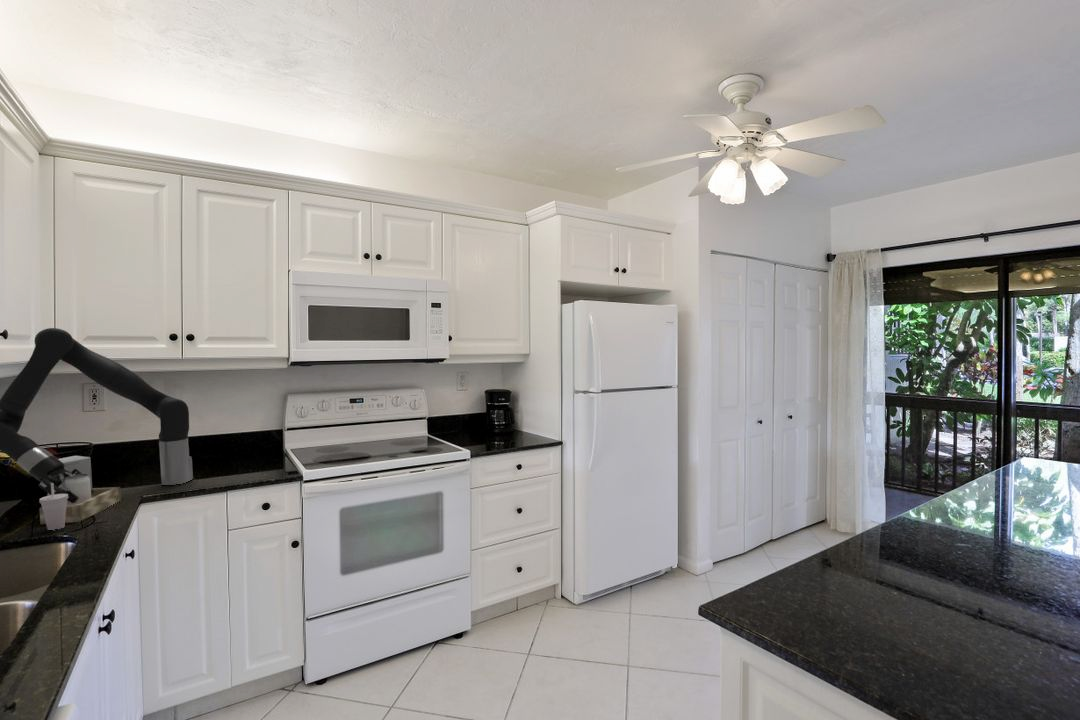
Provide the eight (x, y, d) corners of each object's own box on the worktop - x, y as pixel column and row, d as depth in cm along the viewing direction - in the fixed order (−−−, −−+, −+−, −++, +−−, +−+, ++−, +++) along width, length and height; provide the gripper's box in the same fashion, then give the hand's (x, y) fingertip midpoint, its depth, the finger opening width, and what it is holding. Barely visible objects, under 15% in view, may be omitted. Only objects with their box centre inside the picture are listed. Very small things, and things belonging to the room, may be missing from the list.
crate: (87, 502, 178) (86, 488, 178) (121, 501, 180) (120, 486, 179) (40, 524, 159) (39, 508, 158) (78, 522, 160) (77, 506, 160)
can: (76, 516, 165) (73, 479, 164) (60, 515, 166) (57, 478, 166) (97, 509, 172) (94, 473, 171) (81, 508, 173) (79, 473, 172)
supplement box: (63, 506, 175) (60, 463, 174) (47, 503, 178) (44, 461, 177) (94, 498, 184) (91, 456, 183) (78, 495, 187) (75, 455, 186)
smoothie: (37, 533, 151) (33, 487, 150) (47, 526, 157) (44, 481, 156) (65, 530, 153) (61, 484, 153) (74, 522, 159) (71, 478, 159)
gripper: (30, 460, 160) (75, 495, 162) (66, 450, 174) (107, 482, 176) (12, 478, 159) (58, 513, 162) (50, 466, 174) (91, 498, 176)
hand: (83, 497), depth 169 cm, fingers closed on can, 6 cm apart
